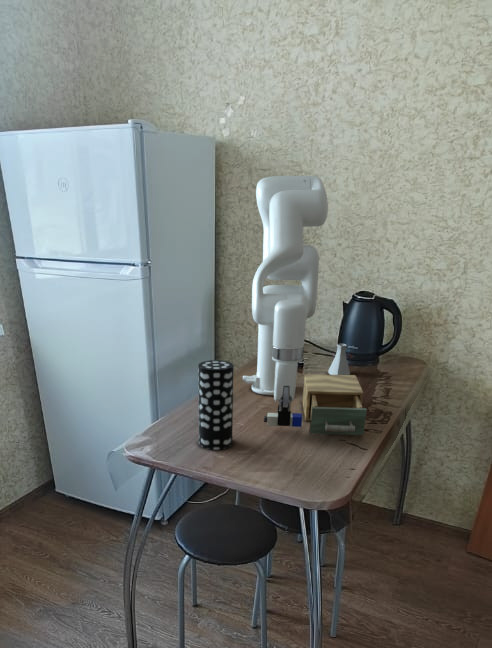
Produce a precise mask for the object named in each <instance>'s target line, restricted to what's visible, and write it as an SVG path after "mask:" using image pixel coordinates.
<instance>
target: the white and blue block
mask: <svg viewBox="0 0 492 648" xmlns="http://www.w3.org/2000/svg"><path fill="white" fill-rule="evenodd" d="M263 422H264V423H266V426H267V427H279V426H278V425H277V422H278V412H267V415H264V417H263ZM302 426H303V414H302V412H300V413H299V412H291V417H290V425H289V426H288V427H292V428H293V427H294V428H295V427H296V428H302Z"/></svg>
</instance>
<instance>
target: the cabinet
mask: <svg viewBox="0 0 492 648" xmlns="http://www.w3.org/2000/svg"><path fill="white" fill-rule="evenodd" d="M303 377H304V380H303V391H302V409H303V415H304V421H305V422H311V417H310V403H311V394H336V395H357V396H358V398H359V400H360V403H361V405H362V406H363V398H364V390H363V388H362V387H361V384H360V381H359V379H358V377H357V375H355V374H350V375H330V374H319V373H318V374H317V373H316V374H314V373H305V374H304V376H303Z"/></svg>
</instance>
